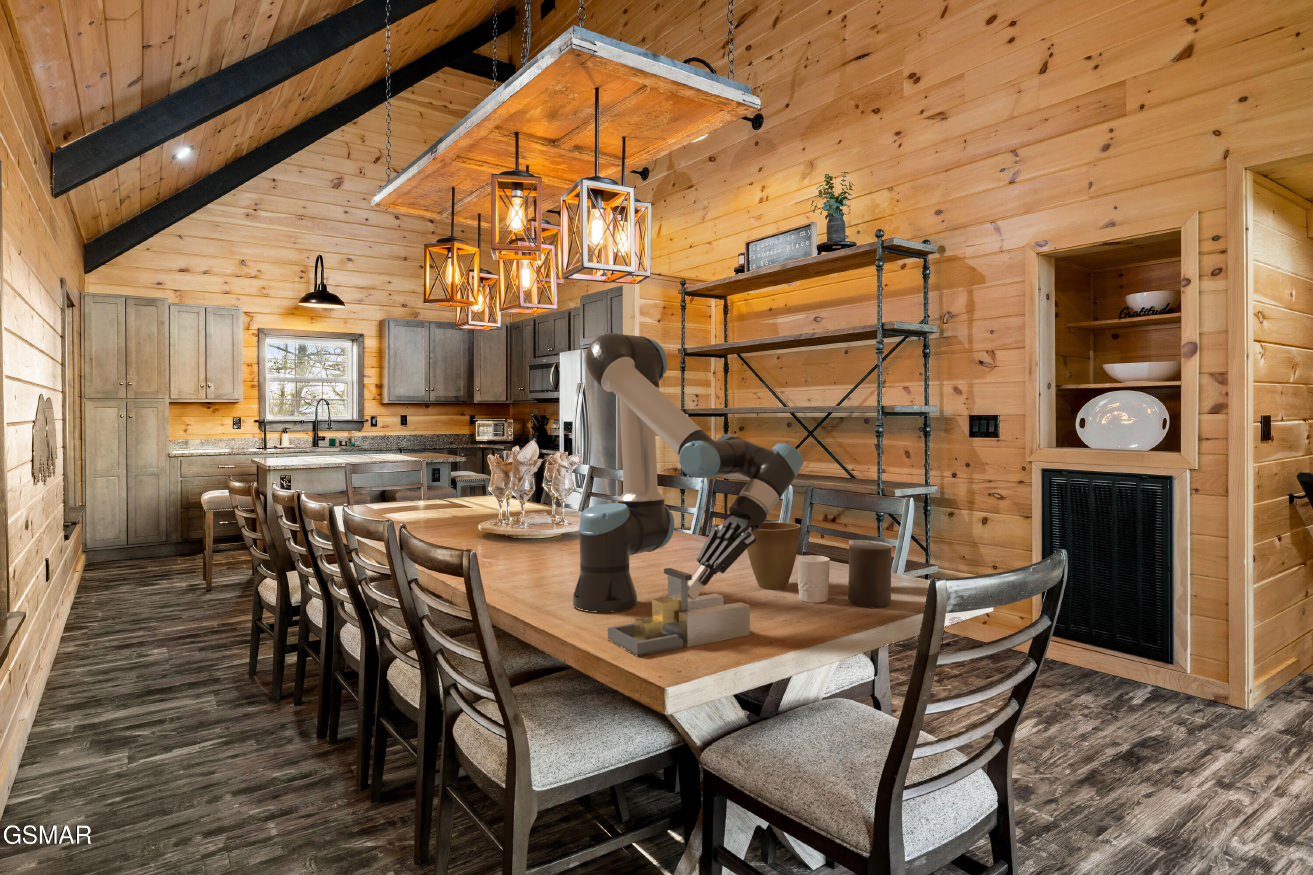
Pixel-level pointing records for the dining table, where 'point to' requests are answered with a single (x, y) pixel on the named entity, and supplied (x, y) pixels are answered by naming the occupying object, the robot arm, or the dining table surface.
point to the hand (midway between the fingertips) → (688, 595)
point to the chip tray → (627, 640)
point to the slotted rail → (710, 621)
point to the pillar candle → (869, 574)
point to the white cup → (813, 578)
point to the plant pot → (774, 553)
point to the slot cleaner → (678, 586)
